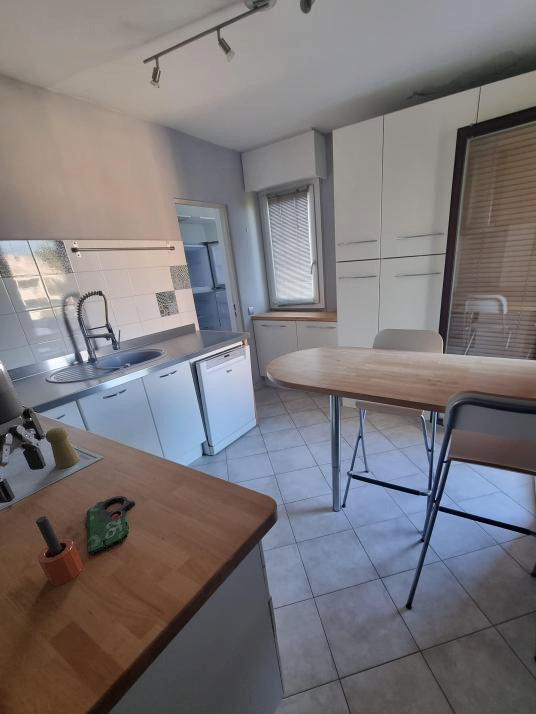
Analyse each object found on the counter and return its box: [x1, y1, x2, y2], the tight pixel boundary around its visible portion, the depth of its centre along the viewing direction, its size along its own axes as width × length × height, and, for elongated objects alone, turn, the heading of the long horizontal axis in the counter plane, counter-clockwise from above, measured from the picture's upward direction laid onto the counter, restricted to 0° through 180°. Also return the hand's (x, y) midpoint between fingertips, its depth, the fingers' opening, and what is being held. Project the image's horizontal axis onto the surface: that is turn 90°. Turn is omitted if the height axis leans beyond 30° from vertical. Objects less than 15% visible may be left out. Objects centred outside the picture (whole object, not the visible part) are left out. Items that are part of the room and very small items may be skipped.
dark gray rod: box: [35, 515, 63, 557], centre depth 59 cm, size 2×2×12 cm
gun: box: [85, 495, 136, 556], centre depth 72 cm, size 16×2×10 cm
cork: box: [45, 426, 81, 470], centre depth 95 cm, size 6×6×11 cm
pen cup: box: [37, 537, 83, 586], centre depth 60 cm, size 5×5×6 cm
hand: (23, 483), depth 54 cm, fingers open, 8 cm apart
